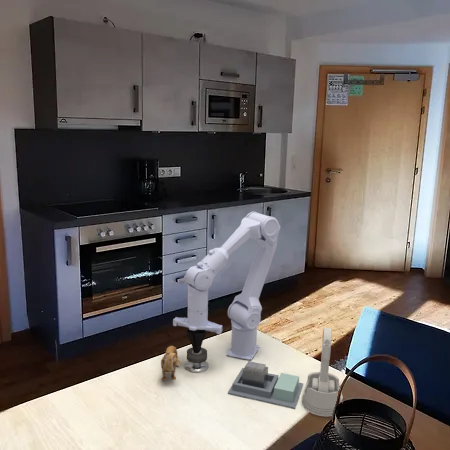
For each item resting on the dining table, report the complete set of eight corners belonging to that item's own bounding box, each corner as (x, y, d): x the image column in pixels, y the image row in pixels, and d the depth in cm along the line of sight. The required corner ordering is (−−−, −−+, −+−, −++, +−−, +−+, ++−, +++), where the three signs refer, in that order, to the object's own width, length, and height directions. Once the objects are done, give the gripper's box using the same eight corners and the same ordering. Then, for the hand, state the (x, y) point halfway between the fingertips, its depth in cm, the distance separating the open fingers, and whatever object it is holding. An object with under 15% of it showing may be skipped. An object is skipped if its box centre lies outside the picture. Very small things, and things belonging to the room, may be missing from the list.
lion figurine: (181, 386, 127) (181, 356, 125) (161, 388, 126) (161, 357, 124) (177, 359, 141) (178, 332, 139) (160, 360, 140) (160, 332, 138)
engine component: (301, 413, 117) (342, 419, 115) (306, 337, 112) (349, 342, 110) (302, 389, 127) (340, 394, 125) (308, 319, 123) (347, 323, 121)
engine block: (246, 379, 130) (247, 359, 129) (267, 383, 129) (268, 363, 127) (242, 387, 127) (242, 366, 125) (263, 391, 125) (264, 371, 123)
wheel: (191, 351, 140) (191, 345, 140) (210, 355, 138) (210, 349, 138) (183, 360, 135) (183, 354, 134) (202, 364, 133) (202, 358, 133)
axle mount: (190, 358, 142) (190, 351, 141) (212, 362, 139) (212, 356, 139) (180, 369, 135) (180, 362, 135) (203, 374, 133) (203, 367, 132)
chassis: (241, 371, 135) (241, 361, 134) (303, 384, 129) (304, 373, 129) (227, 393, 124) (227, 382, 123) (294, 409, 118) (295, 397, 117)
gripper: (168, 309, 132) (168, 353, 135) (216, 317, 127) (215, 363, 130) (179, 300, 138) (178, 342, 141) (225, 308, 134) (223, 351, 137)
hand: (196, 351), depth 136 cm, fingers closed, pressing on wheel
